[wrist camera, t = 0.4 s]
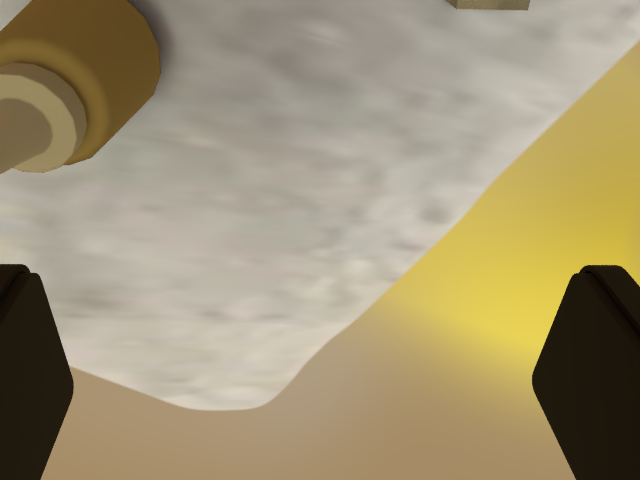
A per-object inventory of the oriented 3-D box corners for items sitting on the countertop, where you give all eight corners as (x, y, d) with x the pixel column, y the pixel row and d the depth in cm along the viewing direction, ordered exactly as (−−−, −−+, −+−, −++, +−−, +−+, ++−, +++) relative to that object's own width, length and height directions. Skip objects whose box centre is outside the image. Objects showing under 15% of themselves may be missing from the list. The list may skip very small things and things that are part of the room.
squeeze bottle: (114, -57, 32) (-28, 10, 17) (196, 61, 36) (138, 196, 22) (13, 14, 34) (-190, 129, 19) (102, 119, 38) (-10, 278, 24)
